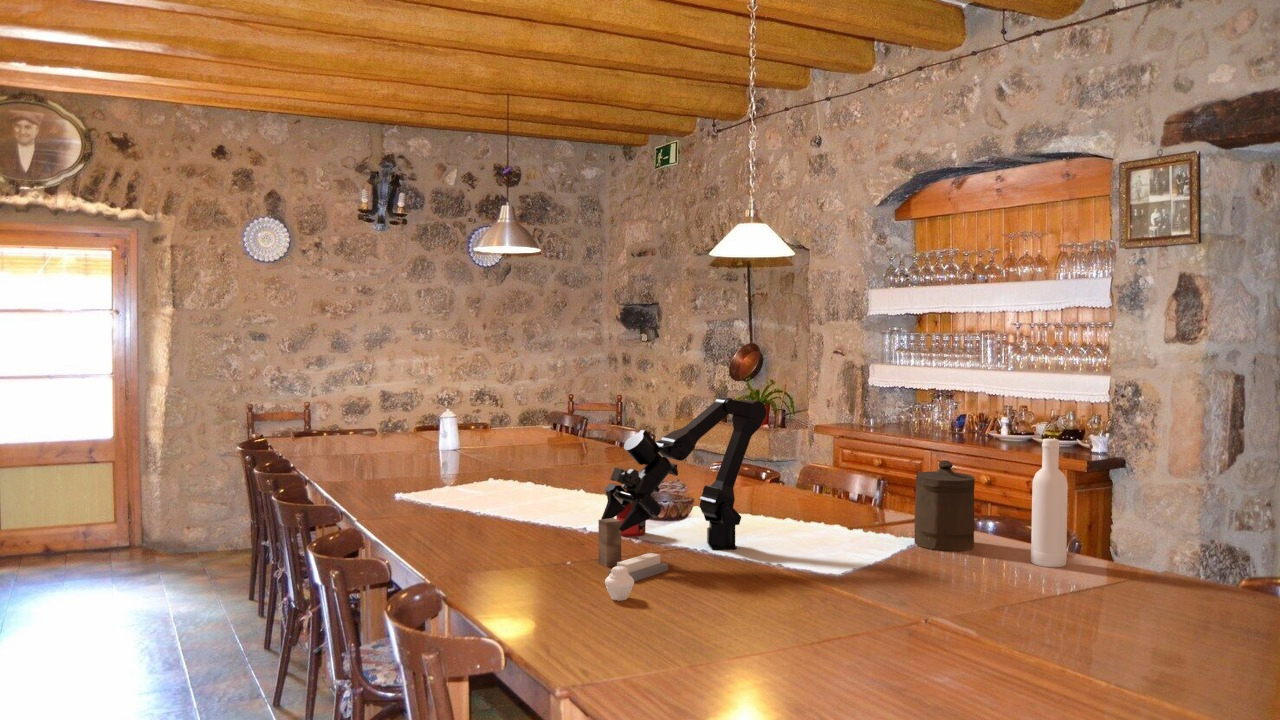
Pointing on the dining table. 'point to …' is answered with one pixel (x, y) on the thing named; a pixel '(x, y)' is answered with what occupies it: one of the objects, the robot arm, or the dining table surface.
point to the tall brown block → (609, 542)
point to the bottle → (1049, 510)
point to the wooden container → (944, 509)
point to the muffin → (619, 583)
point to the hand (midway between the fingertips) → (610, 526)
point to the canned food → (635, 530)
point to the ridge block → (643, 566)
